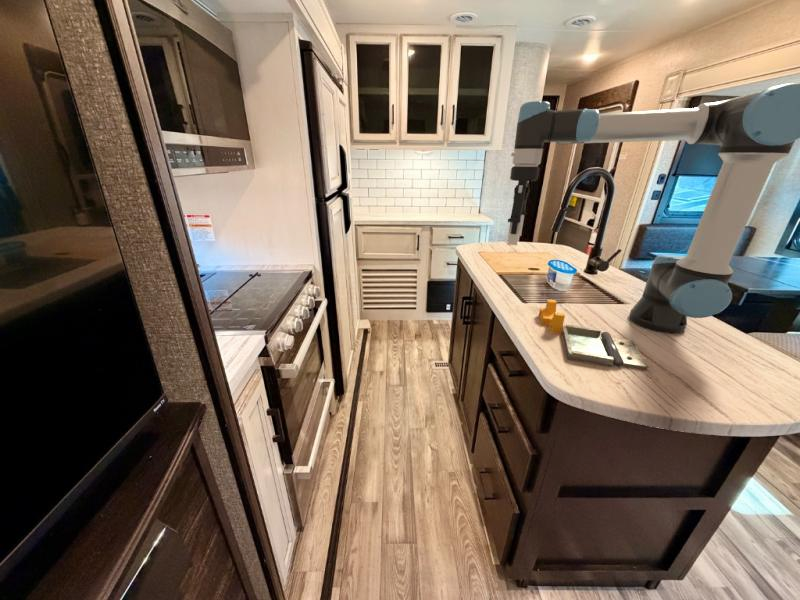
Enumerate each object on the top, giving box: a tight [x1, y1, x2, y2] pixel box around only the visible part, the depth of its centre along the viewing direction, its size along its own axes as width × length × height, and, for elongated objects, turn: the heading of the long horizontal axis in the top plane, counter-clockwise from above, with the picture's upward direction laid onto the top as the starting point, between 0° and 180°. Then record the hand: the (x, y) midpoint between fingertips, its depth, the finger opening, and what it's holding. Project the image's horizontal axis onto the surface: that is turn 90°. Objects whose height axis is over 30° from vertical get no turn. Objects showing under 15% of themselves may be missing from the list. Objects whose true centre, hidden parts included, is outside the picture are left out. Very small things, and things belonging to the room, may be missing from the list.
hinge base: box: [561, 324, 649, 371], centre depth 92 cm, size 19×17×2 cm
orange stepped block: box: [538, 299, 566, 335], centre depth 105 cm, size 12×4×6 cm, turn 169°
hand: (514, 239), depth 100 cm, fingers open, 13 cm apart
